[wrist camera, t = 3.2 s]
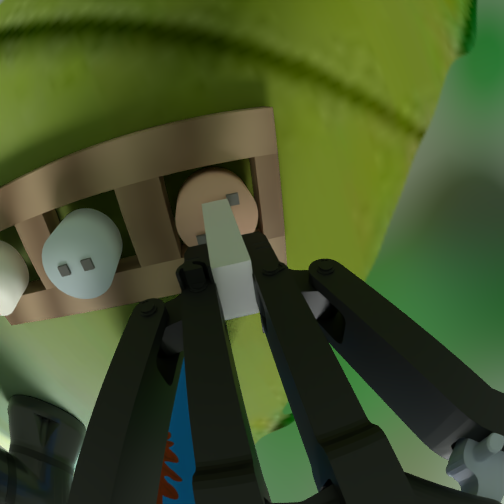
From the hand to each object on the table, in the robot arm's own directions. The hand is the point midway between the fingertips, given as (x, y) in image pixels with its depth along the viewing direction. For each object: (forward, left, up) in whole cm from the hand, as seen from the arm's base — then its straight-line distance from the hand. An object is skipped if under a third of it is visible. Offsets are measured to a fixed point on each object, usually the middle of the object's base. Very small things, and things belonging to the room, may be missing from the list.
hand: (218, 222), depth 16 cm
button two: (-9, 0, -2) cm, 9 cm away
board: (-9, 0, -4) cm, 10 cm away
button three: (0, 0, -3) cm, 3 cm away
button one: (-18, 0, -2) cm, 18 cm away
